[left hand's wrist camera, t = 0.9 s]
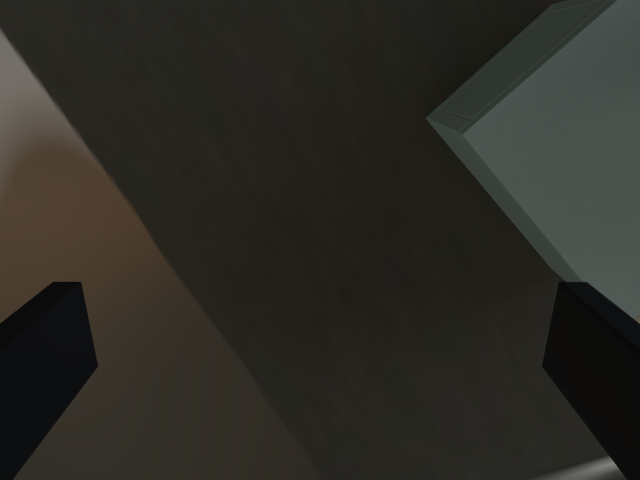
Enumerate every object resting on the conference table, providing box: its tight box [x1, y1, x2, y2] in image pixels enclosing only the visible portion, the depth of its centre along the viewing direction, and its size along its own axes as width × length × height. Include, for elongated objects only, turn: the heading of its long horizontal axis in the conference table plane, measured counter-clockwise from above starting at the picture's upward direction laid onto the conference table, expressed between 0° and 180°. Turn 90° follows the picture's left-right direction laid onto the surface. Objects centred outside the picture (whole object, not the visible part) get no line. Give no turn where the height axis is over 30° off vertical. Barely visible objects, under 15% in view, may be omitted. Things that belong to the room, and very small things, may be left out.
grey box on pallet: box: [426, 0, 640, 318], centre depth 31 cm, size 17×11×10 cm, turn 43°
